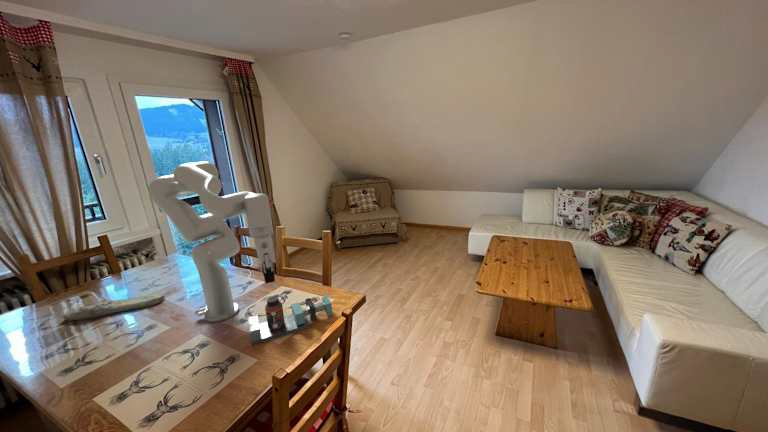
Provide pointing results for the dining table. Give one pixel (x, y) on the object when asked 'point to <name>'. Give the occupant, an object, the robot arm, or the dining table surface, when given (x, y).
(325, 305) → the blue dumbbell
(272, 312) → the supplement bottle
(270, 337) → the press bed
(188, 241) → the robot arm
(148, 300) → the long grey stone
